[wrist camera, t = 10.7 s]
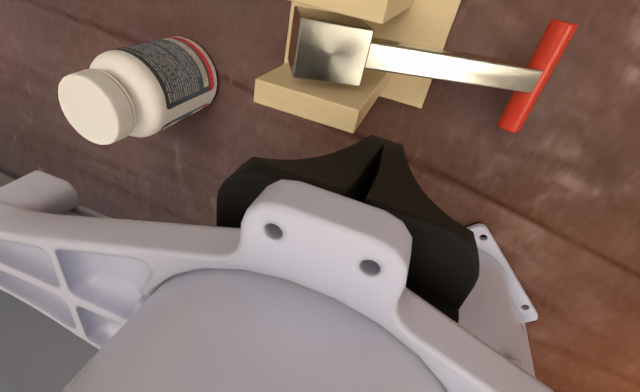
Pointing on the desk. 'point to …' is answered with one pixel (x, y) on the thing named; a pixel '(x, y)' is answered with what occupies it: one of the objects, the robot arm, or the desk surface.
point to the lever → (418, 59)
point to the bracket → (354, 102)
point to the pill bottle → (138, 89)
